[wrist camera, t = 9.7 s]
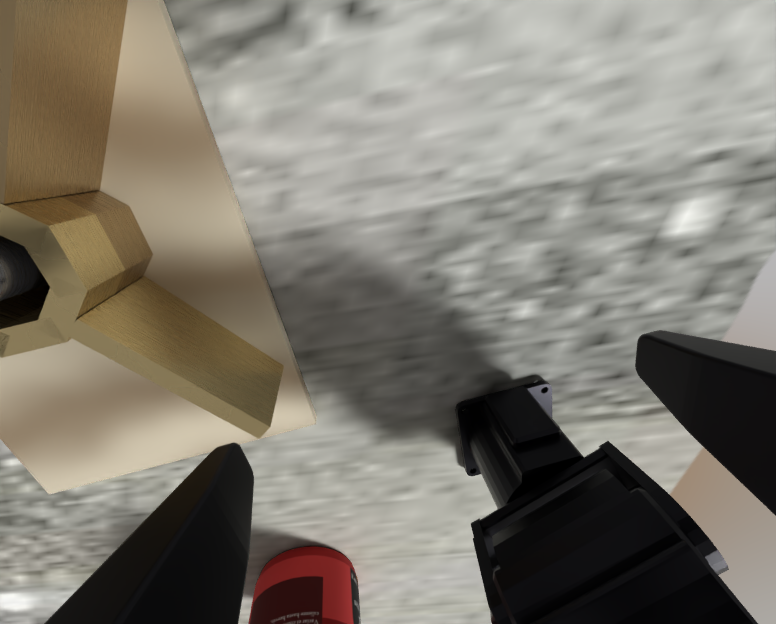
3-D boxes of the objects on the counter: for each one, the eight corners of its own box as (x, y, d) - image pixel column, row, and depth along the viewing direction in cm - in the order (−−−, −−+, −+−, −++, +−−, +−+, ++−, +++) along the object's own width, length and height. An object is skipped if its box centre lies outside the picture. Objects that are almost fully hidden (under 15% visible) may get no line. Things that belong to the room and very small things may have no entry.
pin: (117, 262, 17) (-68, 328, 9) (69, 274, 16) (-156, 351, 9) (92, 214, 16) (-133, 243, 8) (42, 226, 16) (-231, 267, 8)
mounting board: (316, 415, 23) (316, 424, 22) (58, 483, 22) (49, 494, 21) (150, -36, 13) (139, -47, 13) (-305, 52, 13) (-343, 46, 12)
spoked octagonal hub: (286, 372, 20) (273, 435, 16) (122, 414, 20) (60, 491, 15) (125, -44, 13) (11, -154, 8) (-146, 8, 12) (-425, -78, 8)
